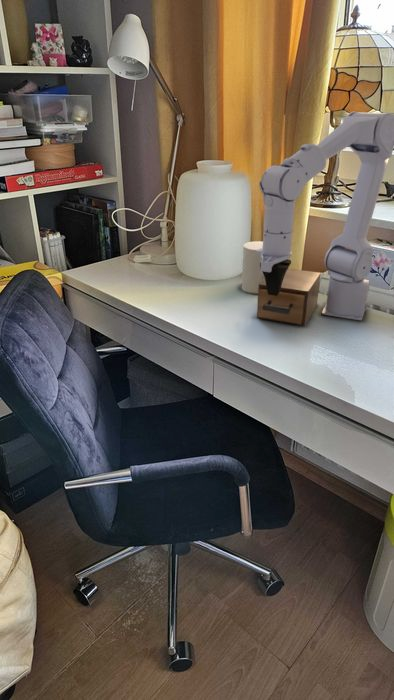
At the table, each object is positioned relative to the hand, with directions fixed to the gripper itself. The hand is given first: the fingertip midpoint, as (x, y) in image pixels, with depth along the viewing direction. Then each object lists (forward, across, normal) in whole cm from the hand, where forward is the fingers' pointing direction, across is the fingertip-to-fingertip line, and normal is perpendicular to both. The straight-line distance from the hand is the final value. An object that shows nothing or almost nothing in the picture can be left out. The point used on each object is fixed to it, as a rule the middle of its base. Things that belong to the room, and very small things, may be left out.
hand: (273, 294), depth 101 cm
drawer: (+9, -11, 0) cm, 14 cm away
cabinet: (+10, -15, 0) cm, 18 cm away
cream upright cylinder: (+10, -27, -12) cm, 31 cm away
